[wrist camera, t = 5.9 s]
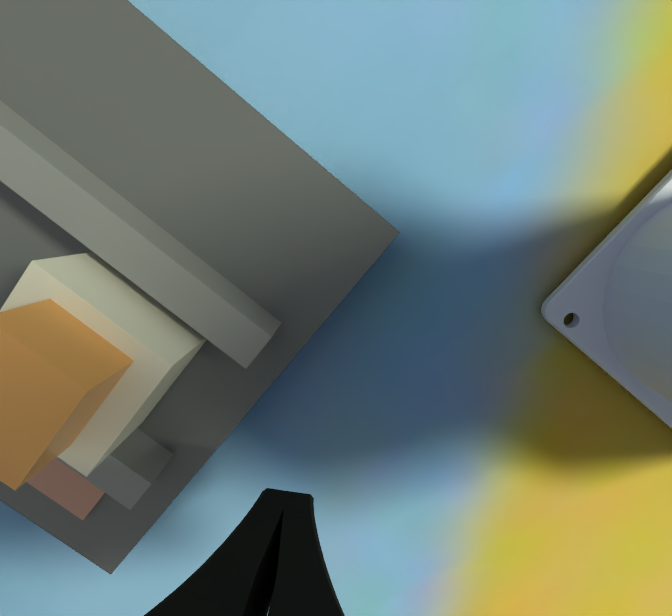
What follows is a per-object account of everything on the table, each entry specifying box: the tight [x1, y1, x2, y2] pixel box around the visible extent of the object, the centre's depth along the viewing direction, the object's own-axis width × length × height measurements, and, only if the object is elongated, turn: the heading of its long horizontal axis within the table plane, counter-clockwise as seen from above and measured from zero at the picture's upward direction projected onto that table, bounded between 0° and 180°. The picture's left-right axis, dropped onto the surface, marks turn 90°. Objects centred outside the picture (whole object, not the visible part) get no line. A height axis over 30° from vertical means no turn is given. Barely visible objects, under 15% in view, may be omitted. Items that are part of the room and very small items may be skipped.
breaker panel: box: [0, 0, 399, 574], centre depth 13 cm, size 17×16×4 cm
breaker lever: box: [0, 252, 207, 490], centre depth 11 cm, size 4×4×5 cm
